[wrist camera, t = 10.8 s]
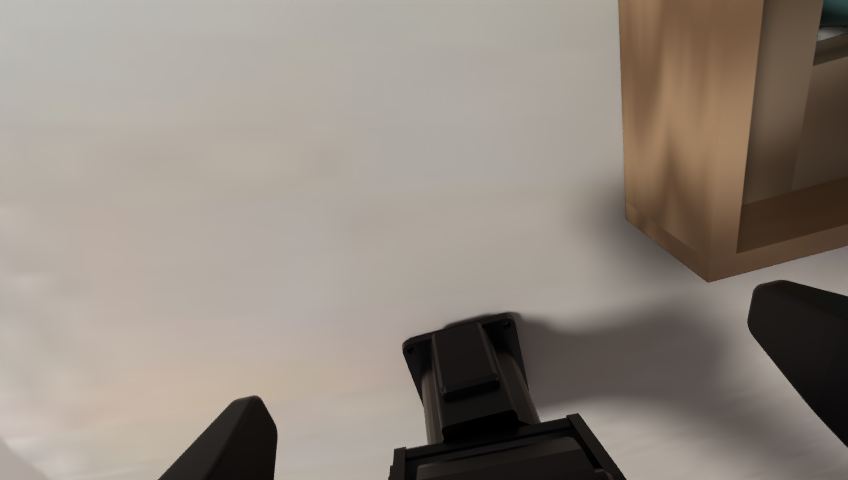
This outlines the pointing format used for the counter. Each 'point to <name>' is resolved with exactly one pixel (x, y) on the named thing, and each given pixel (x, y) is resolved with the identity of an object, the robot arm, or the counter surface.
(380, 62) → the counter surface
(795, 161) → the box
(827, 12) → the peg
